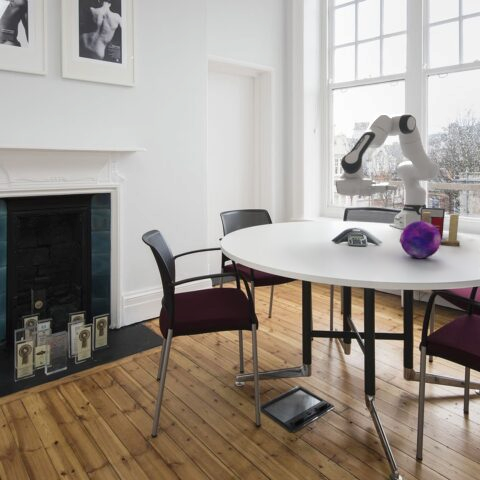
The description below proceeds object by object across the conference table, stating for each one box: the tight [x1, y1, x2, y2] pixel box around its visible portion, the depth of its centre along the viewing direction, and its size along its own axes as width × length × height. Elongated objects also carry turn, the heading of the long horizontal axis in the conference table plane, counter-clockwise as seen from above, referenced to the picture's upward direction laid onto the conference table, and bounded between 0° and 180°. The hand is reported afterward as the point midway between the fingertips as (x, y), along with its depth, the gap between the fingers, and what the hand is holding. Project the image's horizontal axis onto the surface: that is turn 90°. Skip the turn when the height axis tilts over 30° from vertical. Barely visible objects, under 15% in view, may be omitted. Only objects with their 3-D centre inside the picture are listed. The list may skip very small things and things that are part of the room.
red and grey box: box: [420, 207, 446, 238], centre depth 228 cm, size 11×4×15 cm, turn 62°
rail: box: [399, 237, 460, 247], centre depth 211 cm, size 26×7×2 cm, turn 65°
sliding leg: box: [422, 212, 431, 223], centre depth 211 cm, size 5×5×13 cm
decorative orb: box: [399, 221, 441, 259], centre depth 176 cm, size 15×15×15 cm
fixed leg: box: [446, 213, 460, 243], centre depth 206 cm, size 5×5×13 cm
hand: (397, 187), depth 215 cm, fingers closed
